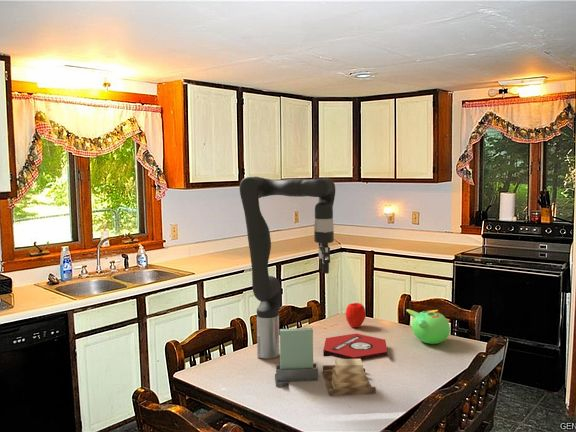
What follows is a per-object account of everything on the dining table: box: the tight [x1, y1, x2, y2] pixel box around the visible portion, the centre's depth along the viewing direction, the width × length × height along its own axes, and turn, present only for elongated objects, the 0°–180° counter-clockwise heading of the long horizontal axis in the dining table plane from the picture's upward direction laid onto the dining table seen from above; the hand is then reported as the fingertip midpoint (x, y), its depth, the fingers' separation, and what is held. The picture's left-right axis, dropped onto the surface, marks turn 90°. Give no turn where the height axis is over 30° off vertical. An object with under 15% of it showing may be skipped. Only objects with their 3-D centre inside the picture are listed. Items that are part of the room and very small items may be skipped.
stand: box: [274, 362, 321, 387], centre depth 196 cm, size 16×8×6 cm, turn 94°
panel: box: [279, 327, 314, 369], centre depth 195 cm, size 12×2×18 cm, turn 94°
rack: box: [320, 364, 377, 397], centre depth 191 cm, size 16×21×4 cm
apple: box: [345, 302, 366, 328], centre depth 259 cm, size 10×10×12 cm
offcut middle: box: [333, 368, 367, 384], centre depth 186 cm, size 10×7×3 cm
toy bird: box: [405, 308, 451, 345], centre depth 235 cm, size 18×17×15 cm
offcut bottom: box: [332, 375, 367, 389], centre depth 186 cm, size 11×8×3 cm
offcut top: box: [334, 358, 364, 374], centre depth 186 cm, size 9×6×3 cm, turn 90°
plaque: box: [322, 333, 388, 361], centre depth 226 cm, size 27×4×30 cm
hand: (324, 271), depth 207 cm, fingers open, 8 cm apart
